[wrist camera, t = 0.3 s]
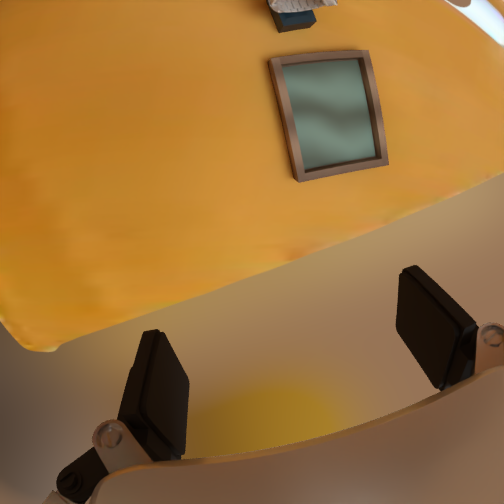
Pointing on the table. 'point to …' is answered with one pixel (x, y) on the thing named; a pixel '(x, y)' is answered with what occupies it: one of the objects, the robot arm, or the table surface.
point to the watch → (295, 13)
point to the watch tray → (329, 112)
